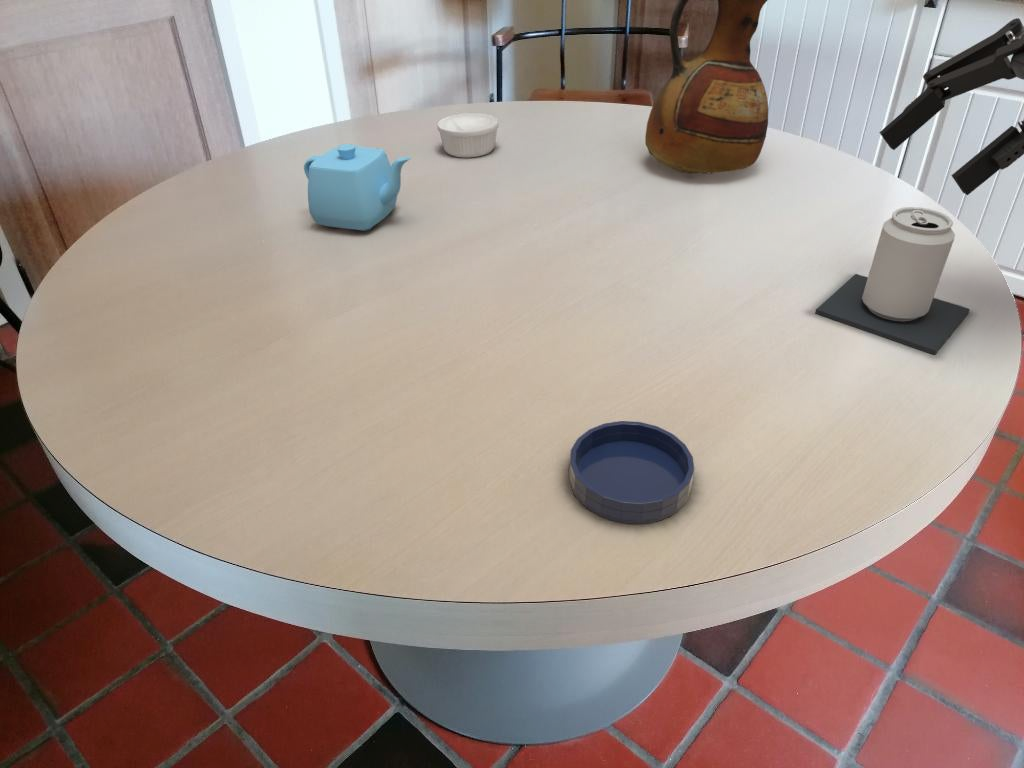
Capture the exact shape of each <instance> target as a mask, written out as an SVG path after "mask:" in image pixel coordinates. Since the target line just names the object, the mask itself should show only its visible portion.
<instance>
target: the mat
mask: <svg viewBox="0 0 1024 768" xmlns="http://www.w3.org/2000/svg"><path fill="white" fill-rule="evenodd" d="M867 279H868V276H864V275H862V274H857V273H855V274H854V275H852V276H851V278H849V279H848V280H847V281H846V282H845V283H843V285H841V286H840V287H839V288H838V289H837V290H836V291H835V292H834V293H832V294H831V295H830V296H829V297H828V298H826V300H824V301H823V302H822V303H821V304H820V305H819V306H818V307H817V308H816V309H815V312H814V314H816V315H819V316H821V317H825V318H827V319H830V320H833V321H835V322H839V323H841V324H844V325H847V326H850V327H853V328H857V329H859V330H862V331H865V332H867V333H870V334H874V335H876V336H880V337H882V338H886V339H888V340H890V341H894V342H897V343H900V344H902V345H905V346H908V347H911V348H913V349H917V350H919V351H923V352H926V353H928V354H930V355H931V354H932V355H937V353H938V352H939V350H940V349H941V348H942V346H943V345H944V344H945V343H946V342H947V340H948V339H949V338H950V337H951V335H952V334H953V333H954V332H955V331H956V329H957V328H958V327H959V326H960V324H961V323H962V322H963V321H964V320H965V318H966V317H967V316H968V314H969V313H970V311H971V308H970V307H969V308H968V307H964V306H962V305H959V304H956V303H953V302H949V301H945V300H942V299H939V298H936V297H933V300H932V303H931V306H930V309H929V311H928V312H927V313H926V314H925V315H924V316H921V317H918V318H916V319H914V320H911V321H893V320H888V319H885V318H882V317H879V316H877V315H876V314H874V313H872V312H871V311H870V310H869V309H868V307H867V306H866V305H865V303H864V302H863V299H862V296H863V293H864V289H865V286H866V282H867Z"/></svg>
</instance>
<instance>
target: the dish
mask: <svg viewBox="0 0 1024 768" xmlns="http://www.w3.org/2000/svg"><path fill="white" fill-rule="evenodd" d="M694 475H695V463H694V456H693V455H692V453H691V451H690V450H689V448H688V446H687V445H686V444H685V443H684V442H683V441H682V440H681V439H680V438H679V437H677V436H676V435H675V434H673V433H672V432H670V431H668V430H665V429H664V428H663V427H662V428H661V427H660V426H657V425H654V424H651V423H650V424H649V423H646V422H642V421H632V420H631V421H629V420H618V421H611V422H605V423H602V424H599V425H597V426H595V427H591V428H589V429H588V430H586V431H585V432H584V433H583V434H581V435H580V436H579V437H577V439H576V440H575V442H574V444H573V446H572V448H571V449H570V457H569V484H570V487H571V490H572V492H573V495H574V496H575V497H576V499H577V500H578V501H579V502H580V503H581V505H583V506H584V507H585V508H586V509H588V510H589V511H590V512H592V513H593V514H595V515H597V516H599V517H601V518H603V519H607V520H610V521H613V522H617V523H622V524H631V525H634V524H635V525H642V524H650V523H656V522H659V521H662V520H665V519H667V518H669V517H671V516H672V515H674V514H676V513H677V512H679V511H680V510H681V509H682V508H683V506H684V505H686V503H687V501H688V499H689V496H690V494H691V490H692V487H693V480H694Z"/></svg>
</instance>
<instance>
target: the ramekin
mask: <svg viewBox="0 0 1024 768" xmlns="http://www.w3.org/2000/svg"><path fill="white" fill-rule="evenodd" d="M436 126H437V131H438V132H439V135H440V140H441V143H442V148H443V150H444V151H445V152H446V153H447V154H448V155H450V156H452V157H456V158H464V159H465V158H467V159H468V158H477V157H482V156H486V155H488V154H490V153H491V152H492V151H493V150H494V148H495V145H496V139H497V132H498V129H499V120H498V119H497V118H496V117H495V116H493V115H490V114H485V113H476V112H471V113H470V112H469V113H468V112H467V113H458V114H453V115H452V114H451V115H449V116H446V117H444V118H442V119H440V120H439V121H438V122H437V125H436Z"/></svg>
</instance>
